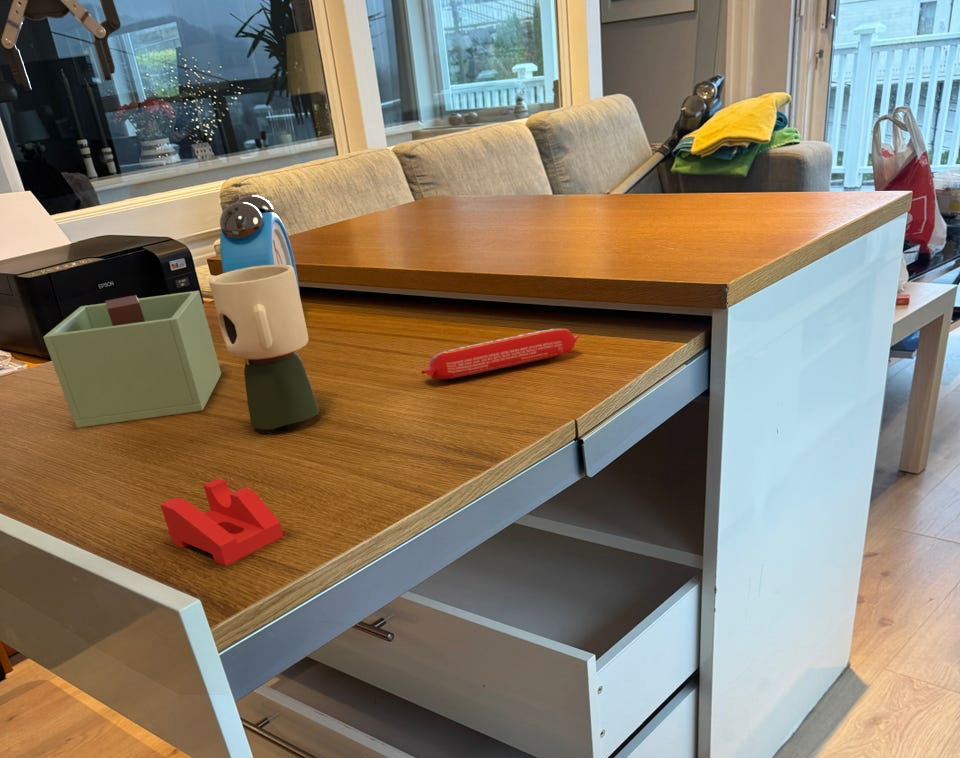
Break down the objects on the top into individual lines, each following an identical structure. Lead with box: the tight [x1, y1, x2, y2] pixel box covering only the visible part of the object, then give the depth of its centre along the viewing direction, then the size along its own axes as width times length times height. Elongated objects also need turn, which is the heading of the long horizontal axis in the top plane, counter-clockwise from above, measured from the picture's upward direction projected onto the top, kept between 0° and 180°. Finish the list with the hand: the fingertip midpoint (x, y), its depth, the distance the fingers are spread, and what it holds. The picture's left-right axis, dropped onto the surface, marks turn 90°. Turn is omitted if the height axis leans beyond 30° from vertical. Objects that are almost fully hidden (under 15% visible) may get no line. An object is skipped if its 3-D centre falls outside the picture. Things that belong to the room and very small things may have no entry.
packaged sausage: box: [421, 328, 581, 380], centre depth 88 cm, size 16×4×3 cm, turn 109°
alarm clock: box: [219, 194, 300, 291], centre depth 108 cm, size 13×6×15 cm, turn 0°
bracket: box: [159, 478, 284, 567], centre depth 62 cm, size 6×5×3 cm
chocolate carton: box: [104, 294, 145, 326], centre depth 90 cm, size 4×3×9 cm
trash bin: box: [43, 290, 222, 429], centre depth 90 cm, size 12×12×9 cm
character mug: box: [208, 265, 320, 430], centre depth 78 cm, size 11×7×13 cm, turn 13°
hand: (68, 85), depth 99 cm, fingers open, 8 cm apart
